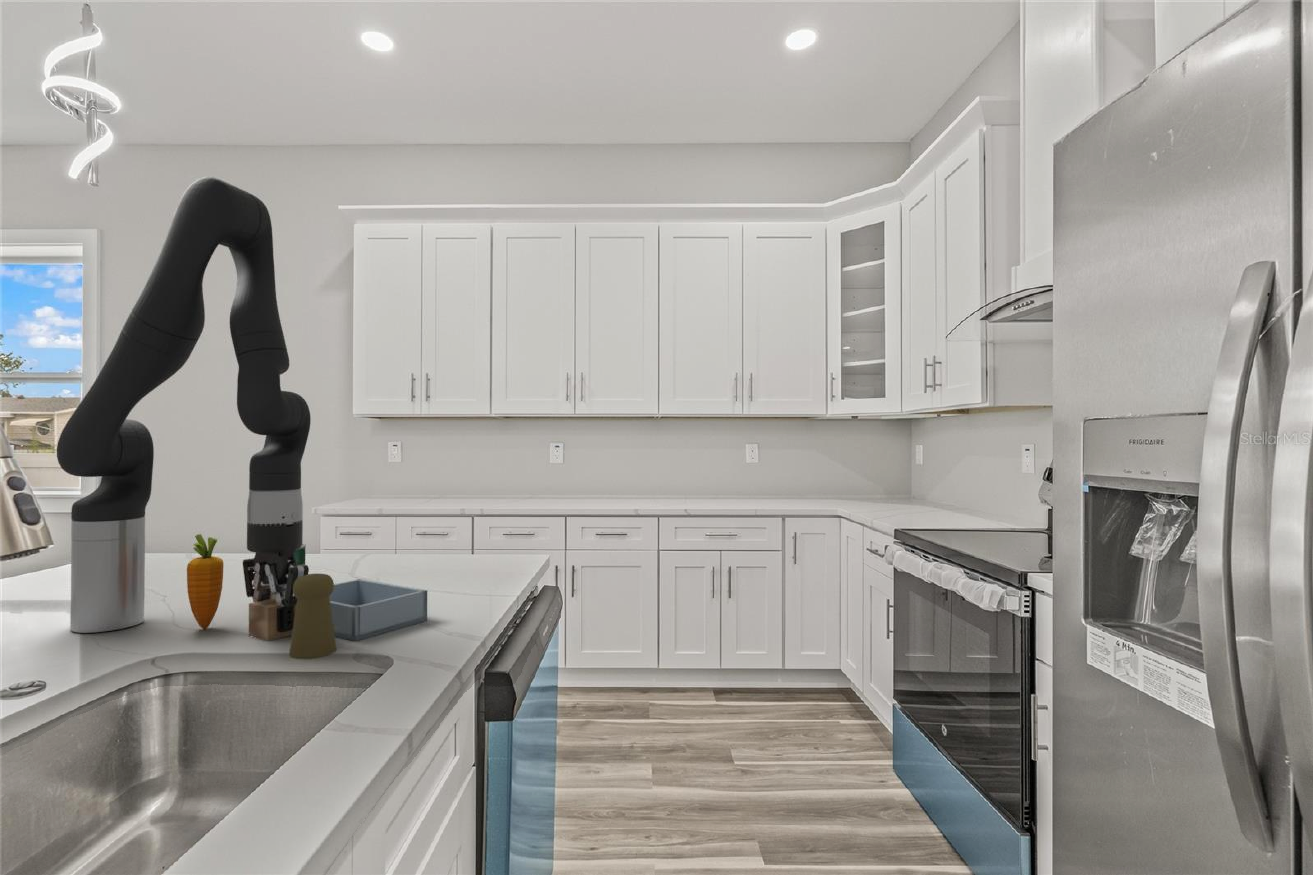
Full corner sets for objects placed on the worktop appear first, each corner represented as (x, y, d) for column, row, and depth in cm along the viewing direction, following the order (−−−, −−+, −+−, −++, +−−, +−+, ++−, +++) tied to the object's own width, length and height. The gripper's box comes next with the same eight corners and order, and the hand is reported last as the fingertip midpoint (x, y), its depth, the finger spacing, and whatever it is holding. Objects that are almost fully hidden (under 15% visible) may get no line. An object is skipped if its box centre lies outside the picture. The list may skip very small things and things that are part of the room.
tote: (285, 624, 110) (286, 593, 110) (359, 606, 122) (359, 578, 122) (355, 641, 101) (355, 608, 101) (427, 620, 113) (427, 590, 113)
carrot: (227, 629, 107) (228, 534, 107) (190, 635, 103) (191, 537, 103) (218, 623, 110) (219, 531, 110) (182, 629, 107) (183, 534, 107)
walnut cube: (248, 636, 103) (248, 603, 103) (280, 628, 108) (280, 596, 108) (267, 641, 101) (267, 607, 101) (299, 632, 105) (299, 600, 105)
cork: (316, 660, 93) (317, 580, 93) (278, 656, 94) (279, 577, 94) (345, 646, 98) (346, 571, 98) (309, 644, 100) (310, 569, 100)
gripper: (224, 518, 105) (223, 627, 105) (278, 524, 98) (277, 642, 98) (272, 513, 111) (271, 616, 111) (326, 519, 104) (325, 629, 104)
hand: (274, 627), depth 104 cm, fingers closed on walnut cube, 5 cm apart
